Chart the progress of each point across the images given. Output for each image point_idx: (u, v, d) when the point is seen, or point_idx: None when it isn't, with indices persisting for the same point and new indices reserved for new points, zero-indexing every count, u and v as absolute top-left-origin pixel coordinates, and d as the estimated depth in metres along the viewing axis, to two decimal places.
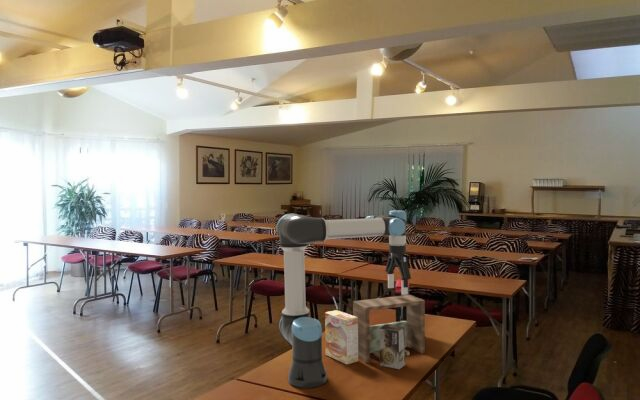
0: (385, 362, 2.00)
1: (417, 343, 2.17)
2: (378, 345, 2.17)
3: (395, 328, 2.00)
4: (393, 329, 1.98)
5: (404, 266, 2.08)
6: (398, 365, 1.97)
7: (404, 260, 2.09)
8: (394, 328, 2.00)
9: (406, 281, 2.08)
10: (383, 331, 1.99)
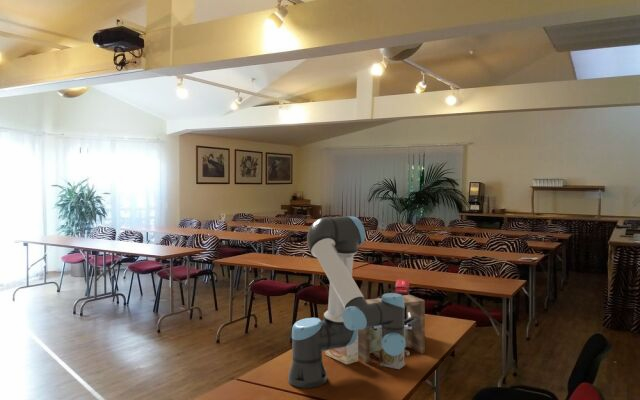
0: (385, 362, 2.00)
1: (417, 343, 2.17)
2: (378, 345, 2.17)
3: None
4: None
5: None
6: (398, 365, 1.97)
7: (373, 325, 1.77)
8: None
9: None
10: None
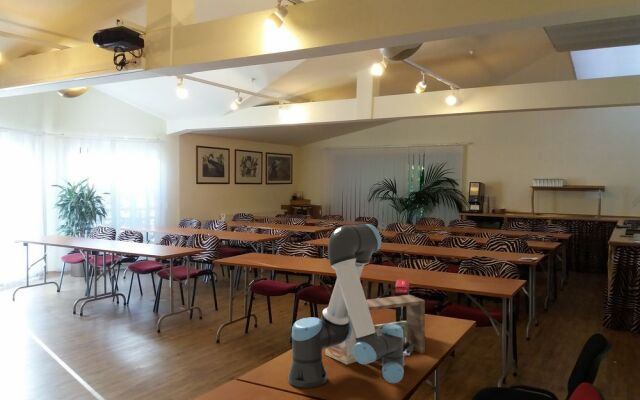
0: None
1: (417, 343, 2.17)
2: None
3: None
4: None
5: None
6: None
7: None
8: None
9: None
10: None
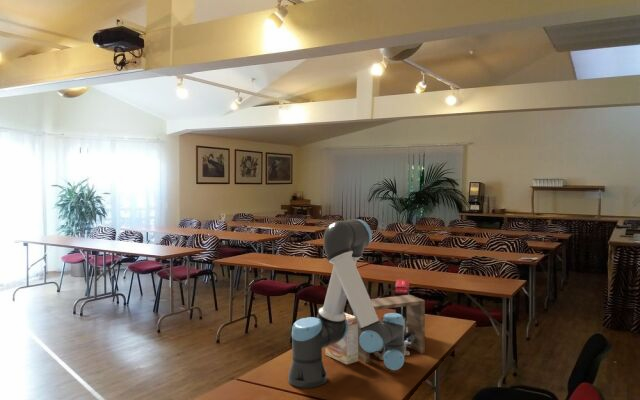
0: None
1: (417, 343, 2.17)
2: None
3: None
4: None
5: None
6: None
7: None
8: None
9: None
10: None
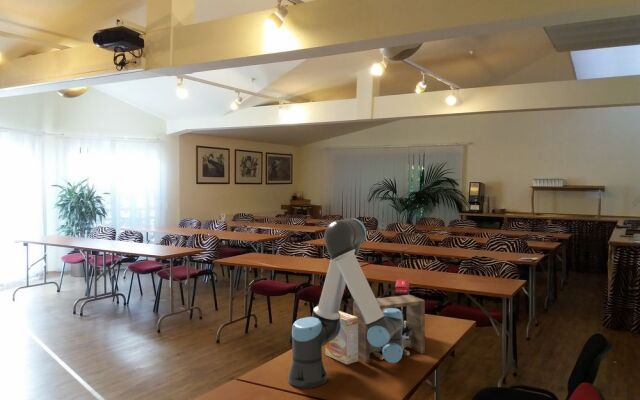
0: None
1: (417, 343, 2.17)
2: None
3: None
4: None
5: None
6: None
7: None
8: None
9: None
10: None
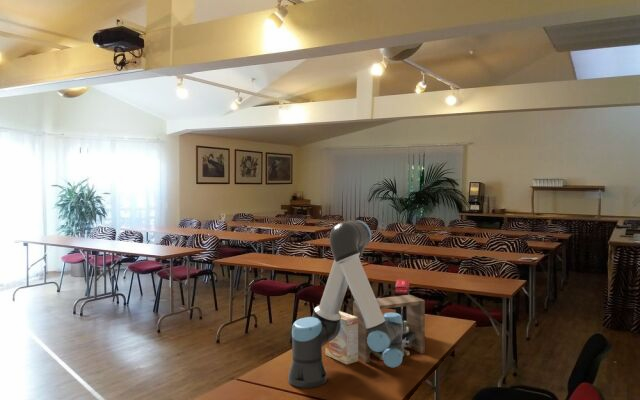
0: None
1: (417, 343, 2.17)
2: None
3: None
4: None
5: None
6: None
7: None
8: None
9: None
10: None
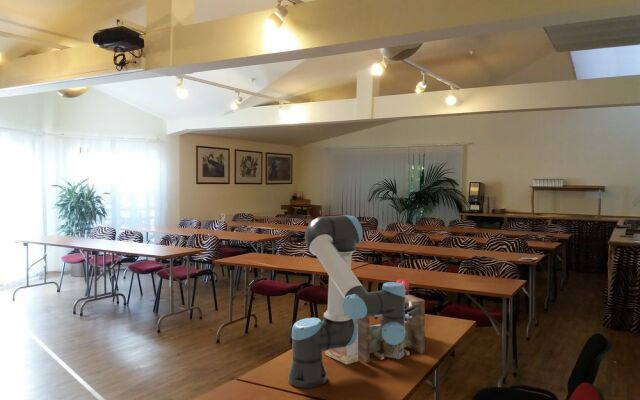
0: (385, 352, 2.11)
1: (417, 343, 2.17)
2: (378, 345, 2.17)
3: None
4: None
5: None
6: (398, 355, 2.08)
7: None
8: None
9: None
10: None
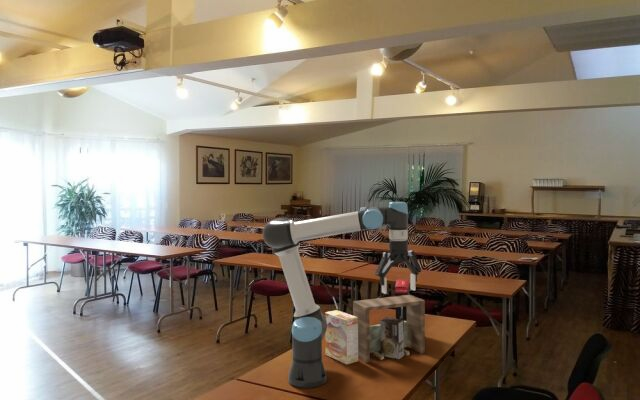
0: (385, 352, 2.11)
1: (417, 343, 2.17)
2: (378, 345, 2.17)
3: (395, 320, 2.11)
4: (393, 322, 2.09)
5: (380, 262, 1.92)
6: (398, 355, 2.08)
7: (383, 256, 1.91)
8: (394, 320, 2.11)
9: (380, 278, 1.91)
10: (384, 323, 2.11)
